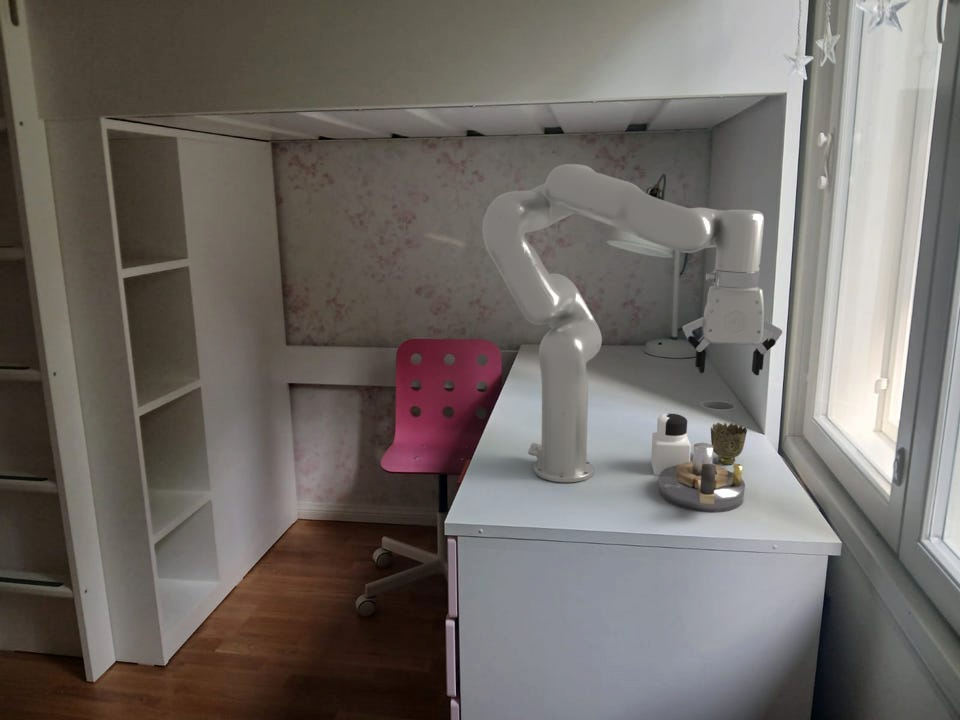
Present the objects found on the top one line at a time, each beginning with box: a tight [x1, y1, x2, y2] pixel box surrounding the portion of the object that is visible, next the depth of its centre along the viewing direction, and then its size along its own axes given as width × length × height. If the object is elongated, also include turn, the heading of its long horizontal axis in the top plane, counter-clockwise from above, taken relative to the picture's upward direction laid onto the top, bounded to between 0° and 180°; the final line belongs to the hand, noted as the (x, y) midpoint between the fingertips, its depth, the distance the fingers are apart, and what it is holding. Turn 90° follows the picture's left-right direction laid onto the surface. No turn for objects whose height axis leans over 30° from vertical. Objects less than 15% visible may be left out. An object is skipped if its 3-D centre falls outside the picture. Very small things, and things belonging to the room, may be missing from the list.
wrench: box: [676, 460, 729, 504], centre depth 137 cm, size 16×10×7 cm, turn 168°
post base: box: [658, 442, 746, 513], centre depth 141 cm, size 16×16×10 cm
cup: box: [710, 422, 748, 466], centre depth 157 cm, size 8×7×8 cm
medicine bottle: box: [650, 413, 692, 476], centre depth 153 cm, size 7×7×12 cm
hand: (727, 372), depth 134 cm, fingers open, 9 cm apart
